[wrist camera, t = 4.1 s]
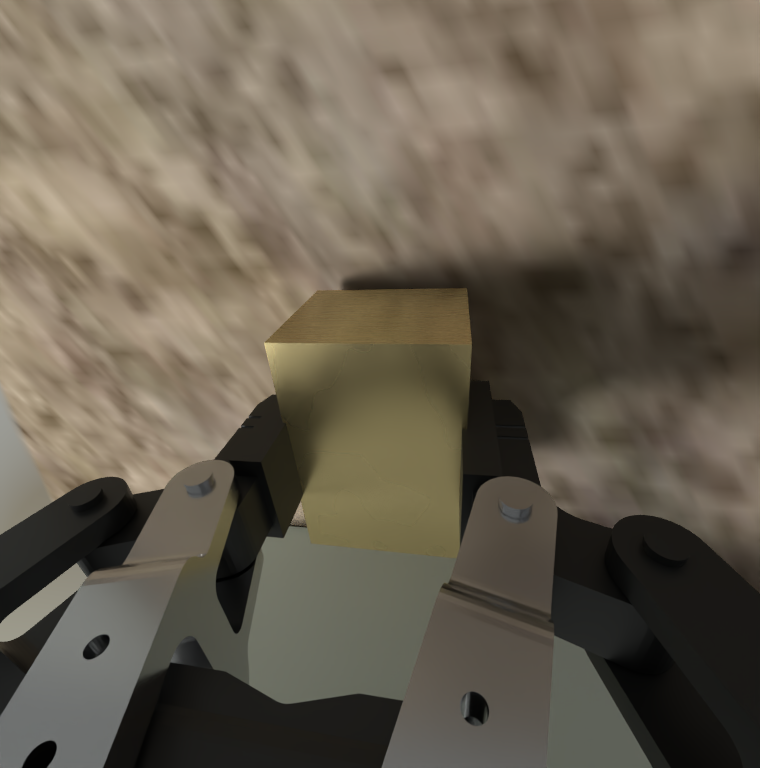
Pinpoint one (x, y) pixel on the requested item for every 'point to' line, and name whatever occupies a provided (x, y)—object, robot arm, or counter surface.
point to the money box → (398, 642)
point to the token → (377, 414)
